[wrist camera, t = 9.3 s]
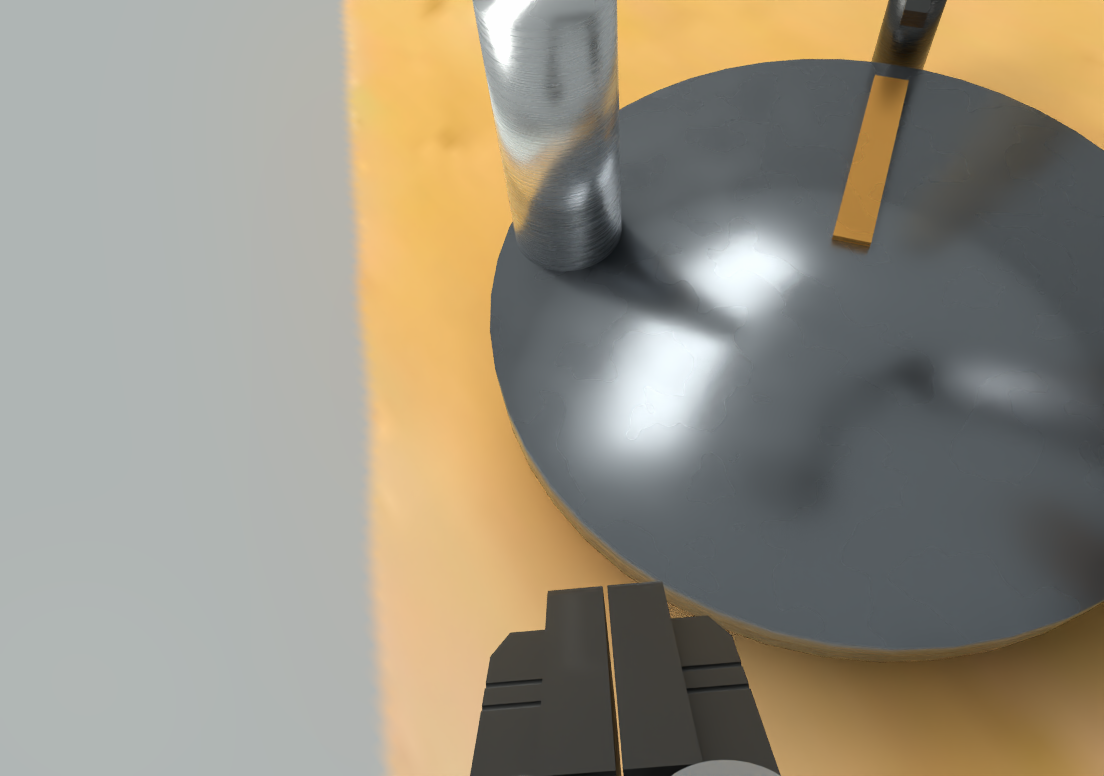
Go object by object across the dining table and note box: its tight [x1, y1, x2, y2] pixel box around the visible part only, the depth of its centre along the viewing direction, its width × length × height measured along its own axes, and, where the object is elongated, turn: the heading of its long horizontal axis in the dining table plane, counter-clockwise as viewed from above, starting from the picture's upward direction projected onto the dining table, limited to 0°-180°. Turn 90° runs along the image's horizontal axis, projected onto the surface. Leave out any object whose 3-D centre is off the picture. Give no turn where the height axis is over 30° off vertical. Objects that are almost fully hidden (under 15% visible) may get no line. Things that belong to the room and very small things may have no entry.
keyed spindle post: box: [872, 0, 947, 70], centre depth 29 cm, size 13×19×6 cm, turn 4°
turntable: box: [473, 0, 1104, 662], centre depth 23 cm, size 22×22×10 cm
